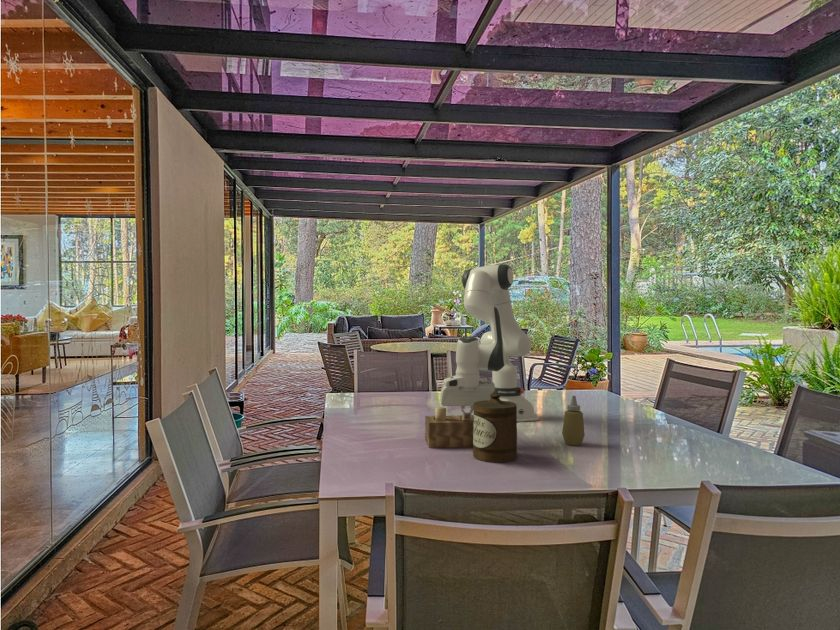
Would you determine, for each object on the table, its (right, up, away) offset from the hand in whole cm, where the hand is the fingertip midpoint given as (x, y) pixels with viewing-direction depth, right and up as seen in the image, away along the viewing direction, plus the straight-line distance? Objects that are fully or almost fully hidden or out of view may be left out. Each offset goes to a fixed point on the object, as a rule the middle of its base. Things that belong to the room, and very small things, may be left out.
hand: (467, 417), depth 215 cm
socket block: (-5, -9, 0) cm, 11 cm away
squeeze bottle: (+39, -10, 0) cm, 41 cm away
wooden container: (+8, -10, -18) cm, 22 cm away
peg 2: (0, -8, 0) cm, 8 cm away
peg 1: (-10, -4, -1) cm, 11 cm away
